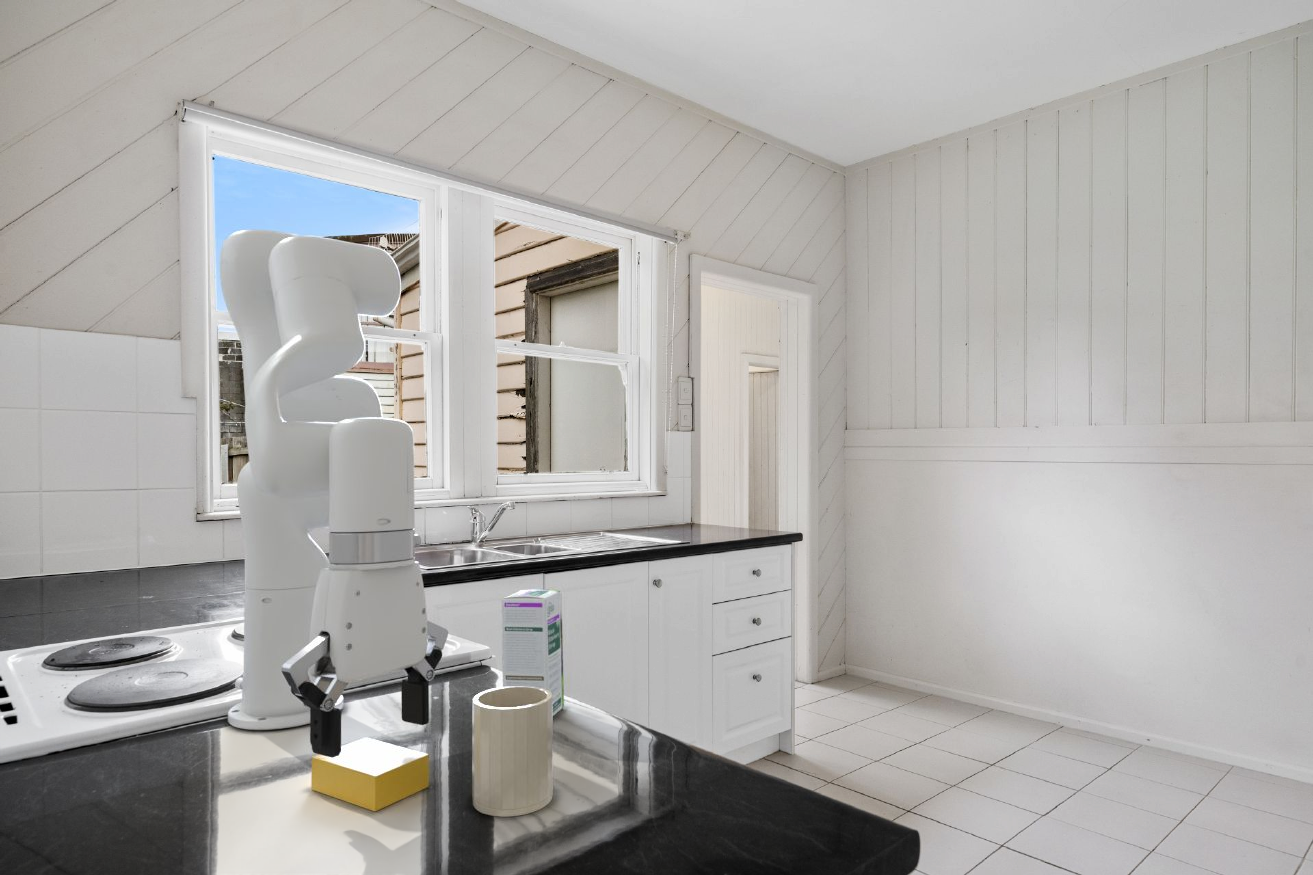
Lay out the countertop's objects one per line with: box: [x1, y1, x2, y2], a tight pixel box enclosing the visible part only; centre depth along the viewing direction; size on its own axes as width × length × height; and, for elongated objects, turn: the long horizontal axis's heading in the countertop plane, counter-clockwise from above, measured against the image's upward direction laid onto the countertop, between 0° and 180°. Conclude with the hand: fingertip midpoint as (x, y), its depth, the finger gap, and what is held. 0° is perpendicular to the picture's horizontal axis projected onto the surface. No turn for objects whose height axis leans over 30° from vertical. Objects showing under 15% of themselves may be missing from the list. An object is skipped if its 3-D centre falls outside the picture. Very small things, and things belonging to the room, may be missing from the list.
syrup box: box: [500, 588, 565, 717], centre depth 91 cm, size 6×6×14 cm
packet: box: [310, 737, 430, 812], centre depth 70 cm, size 9×6×3 cm, turn 58°
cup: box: [471, 686, 554, 818], centre depth 68 cm, size 7×7×9 cm
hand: (373, 737), depth 70 cm, fingers open, 9 cm apart
